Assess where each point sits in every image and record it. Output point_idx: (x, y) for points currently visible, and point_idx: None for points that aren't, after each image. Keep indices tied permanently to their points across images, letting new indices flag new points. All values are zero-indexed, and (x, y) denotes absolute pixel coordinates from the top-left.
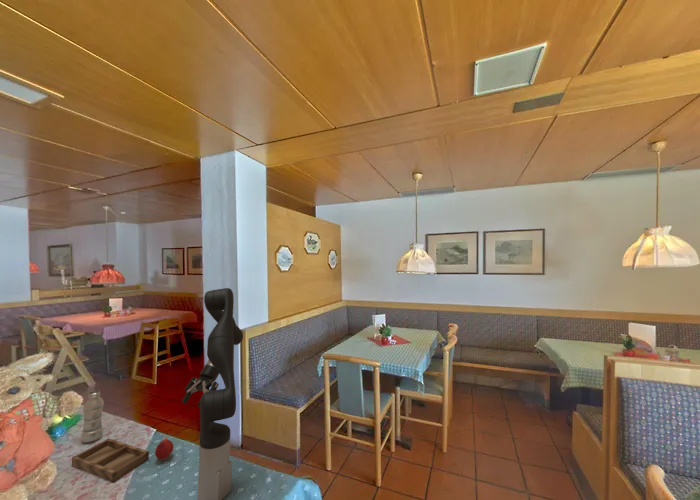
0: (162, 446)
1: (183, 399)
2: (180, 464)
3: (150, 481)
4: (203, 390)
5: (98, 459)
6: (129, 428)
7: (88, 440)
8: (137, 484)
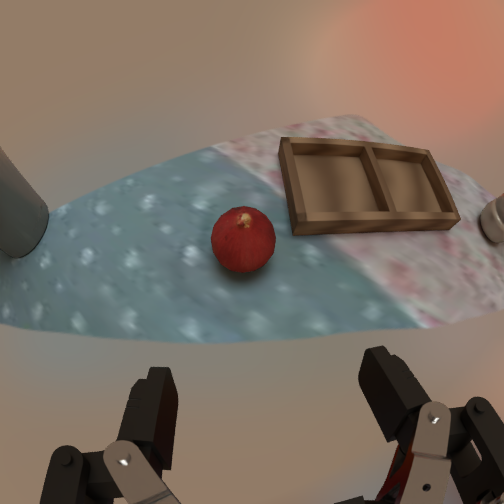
0: (230, 210)
1: (386, 355)
2: (163, 262)
3: (189, 186)
4: (162, 500)
5: (401, 181)
6: (488, 301)
7: (482, 210)
8: (213, 169)
